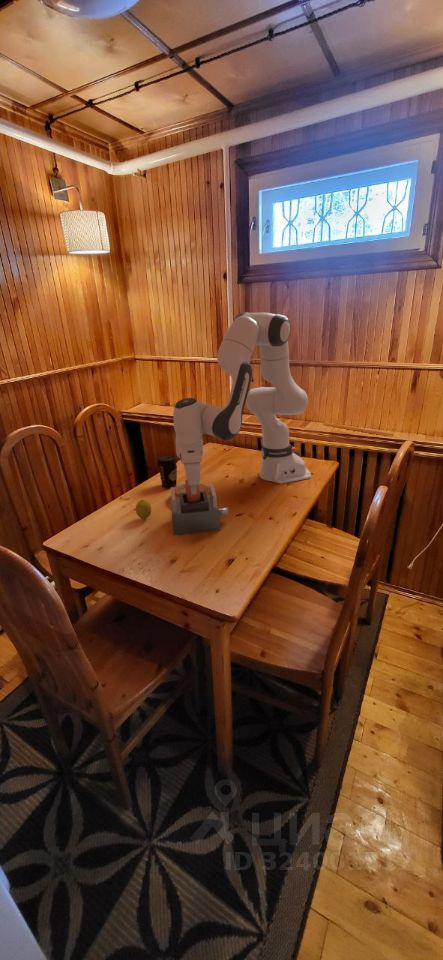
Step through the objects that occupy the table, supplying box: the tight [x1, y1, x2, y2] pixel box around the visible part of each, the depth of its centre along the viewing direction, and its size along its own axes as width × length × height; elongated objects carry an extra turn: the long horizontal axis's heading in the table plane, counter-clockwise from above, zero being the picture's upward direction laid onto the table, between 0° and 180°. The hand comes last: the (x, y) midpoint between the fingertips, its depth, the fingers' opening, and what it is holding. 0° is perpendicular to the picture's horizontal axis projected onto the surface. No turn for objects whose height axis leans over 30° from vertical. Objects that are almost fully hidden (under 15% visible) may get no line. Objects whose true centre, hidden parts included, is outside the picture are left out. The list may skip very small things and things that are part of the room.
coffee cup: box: [156, 454, 178, 490], centre depth 174 cm, size 9×8×13 cm
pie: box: [174, 483, 210, 499], centre depth 163 cm, size 15×16×5 cm
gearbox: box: [170, 483, 230, 536], centre depth 143 cm, size 20×12×13 cm, turn 98°
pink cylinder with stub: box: [177, 478, 201, 503], centre depth 140 cm, size 8×5×10 cm, turn 98°
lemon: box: [135, 498, 152, 520], centre depth 149 cm, size 6×6×8 cm
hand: (192, 487), depth 140 cm, fingers open, 8 cm apart
